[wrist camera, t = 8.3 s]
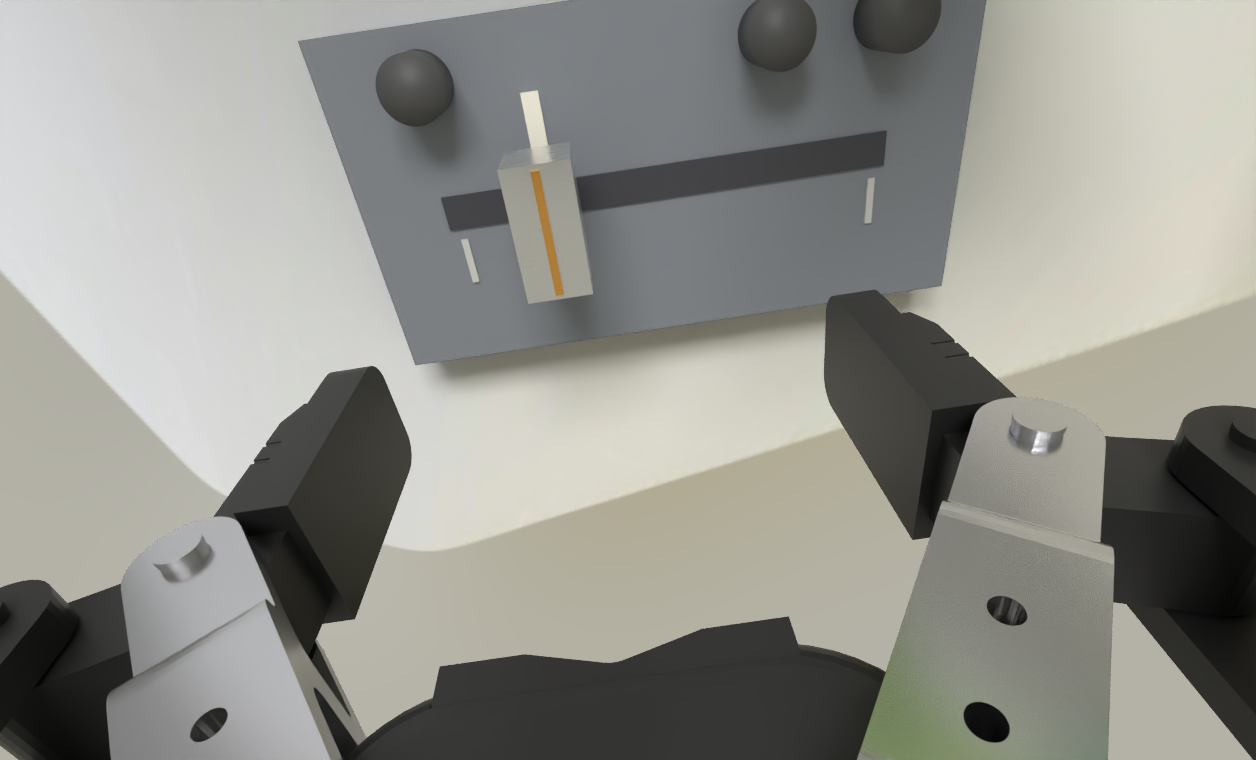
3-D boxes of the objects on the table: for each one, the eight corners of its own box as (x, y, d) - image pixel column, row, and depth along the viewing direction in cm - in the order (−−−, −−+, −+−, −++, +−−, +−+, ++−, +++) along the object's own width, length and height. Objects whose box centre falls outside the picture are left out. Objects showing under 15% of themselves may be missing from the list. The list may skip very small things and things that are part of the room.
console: (959, -59, 25) (1030, -70, 21) (916, 267, 32) (963, 302, 28) (321, 37, 25) (275, 44, 21) (425, 341, 32) (406, 387, 28)
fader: (570, 134, 25) (570, 159, 21) (589, 252, 27) (593, 295, 23) (508, 143, 25) (496, 170, 21) (534, 260, 27) (528, 304, 23)
